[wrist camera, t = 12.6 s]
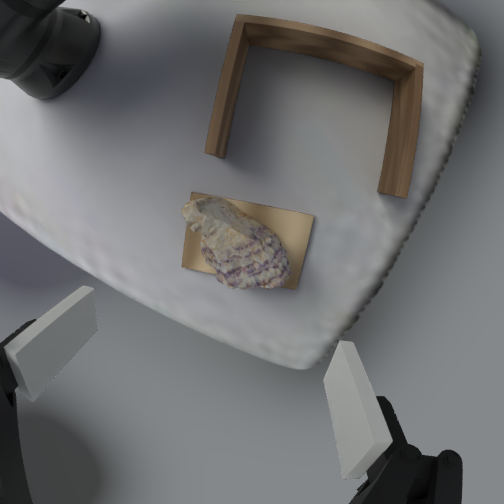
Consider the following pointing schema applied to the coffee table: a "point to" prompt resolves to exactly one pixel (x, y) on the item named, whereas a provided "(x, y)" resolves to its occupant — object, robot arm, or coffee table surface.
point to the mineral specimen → (237, 245)
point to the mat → (277, 220)
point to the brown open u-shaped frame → (338, 50)
